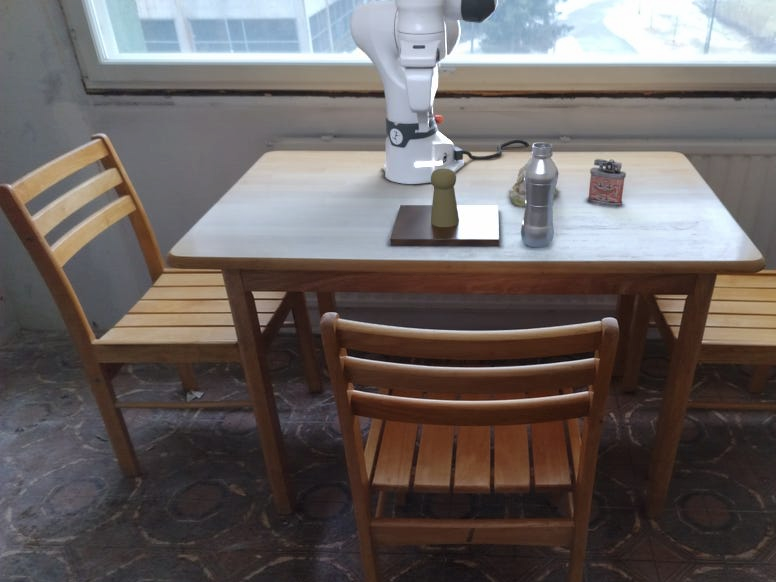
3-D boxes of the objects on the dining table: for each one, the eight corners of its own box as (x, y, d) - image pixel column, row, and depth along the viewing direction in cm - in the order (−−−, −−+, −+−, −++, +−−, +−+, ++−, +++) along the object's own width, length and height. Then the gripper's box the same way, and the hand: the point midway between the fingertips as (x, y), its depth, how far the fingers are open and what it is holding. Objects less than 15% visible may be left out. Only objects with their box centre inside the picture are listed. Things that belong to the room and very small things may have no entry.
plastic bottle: (518, 238, 135) (521, 140, 123) (550, 237, 135) (557, 139, 124) (522, 251, 130) (526, 151, 118) (556, 250, 130) (563, 150, 119)
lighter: (623, 203, 151) (629, 160, 145) (619, 208, 148) (625, 164, 142) (589, 198, 153) (594, 155, 148) (585, 202, 151) (589, 159, 145)
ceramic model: (514, 184, 161) (515, 143, 155) (559, 187, 159) (562, 146, 153) (504, 205, 149) (505, 162, 144) (553, 209, 148) (556, 165, 142)
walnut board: (498, 212, 146) (498, 205, 145) (499, 246, 132) (499, 239, 131) (400, 211, 147) (400, 204, 146) (390, 246, 132) (389, 238, 131)
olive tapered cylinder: (455, 228, 135) (454, 176, 129) (427, 225, 136) (424, 174, 130) (462, 217, 140) (461, 166, 134) (435, 214, 141) (432, 164, 135)
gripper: (411, 36, 129) (416, 109, 137) (398, 59, 112) (404, 140, 120) (443, 36, 128) (446, 109, 137) (435, 59, 112) (438, 140, 120)
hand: (426, 123), depth 128 cm, fingers open, 8 cm apart
